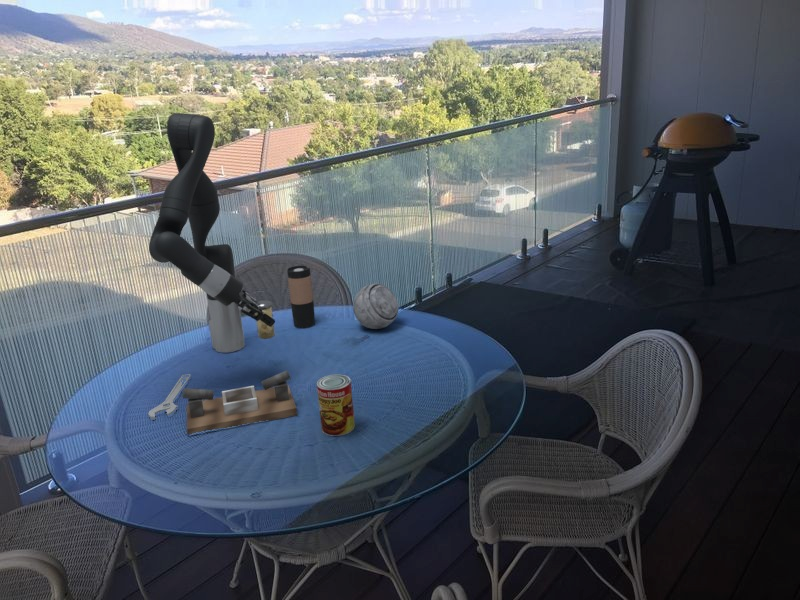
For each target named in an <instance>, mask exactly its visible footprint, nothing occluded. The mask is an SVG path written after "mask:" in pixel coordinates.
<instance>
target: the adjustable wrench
mask: <svg viewBox="0 0 800 600" xmlns="http://www.w3.org/2000/svg"><path fill="white" fill-rule="evenodd" d="M186 375H189V377H185V378H183V376H186ZM191 375H192V374H190V373H186V374H182V375H181V376H180V377H179V379H178V380H177V382H176V383H175V385H174V387H173V388H172V390H171V391H170V393H169V394H168V395H167V396H166V398H165V400H164V401H162V402H161V403H160V404H159V405H157V406H155V407H154V408H152V409H150V410H149V412H148V418H149V417H150V418H152V419H156V417H155V414H156V413H158V412H160V411H164V410H166V412H167V413H166V416H167V415H170V414H172V413H173V412H174V411H175V409H176V408H177V407H178V408H179V406H178V405H176V403H173V401H174V399H175V398H176V396H177V395H178V393H179V392H180V391H181V389H182V388H183V386H184V385H185V383H186V382H187V381H188V379H189V378H190V377H191V378H192V376H191ZM182 379H186V381H185V382H184V384H183V385H182V382H183V380H182ZM181 380H182V382H181ZM179 382H180V383H179ZM181 385H182V386H181ZM167 404H168V405H167ZM169 404H170V405H169ZM163 405H165V406H163ZM156 420H157V419H156Z"/></svg>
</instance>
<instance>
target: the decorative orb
mask: <svg viewBox="0 0 800 600" xmlns="http://www.w3.org/2000/svg"><path fill="white" fill-rule="evenodd" d="M352 308H353V309H352V311H353V314H354V316H355V319H357V321H358V323H359V324H360V325H362V326H363V327H366V328H367V329H372V330H381V329H385V328H387V327H388V326H389V325H390V324H392V323H393V322H394V321H395V319H397V317H398V314H399V304H398V300H397V297H396V296H395V293H393V290H391V289H390V288H389V287H388V286H386V285H384V284H382V283H371V284H367V285H365V286H364V287H362V288H361V289H359V290H358V292H357V293H356V295H355V296H354V299H353V304H352Z"/></svg>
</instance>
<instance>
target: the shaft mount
mask: <svg viewBox="0 0 800 600" xmlns="http://www.w3.org/2000/svg"><path fill="white" fill-rule="evenodd" d="M290 380H291V376H290V373H289V370H285V371H282V372H280V373H278V374H275V375H273V376H271V377H268V378H266V379H263V380H261V385H262V388H263V389H258V390H255V385H250V386H243V387H237V388H233V389H229V390H228V389H227V390H222V391H221V395H222V397H221V396H220V397H216V398H215V397H214V395H215V394H214V391H215V390H214V389H200V388H199V389H198V388H186V387H185V388H184V390H183V391H182V399H187V401H188V402H187V403H186V432H187V435H188V434H192V433H196V432H201V431H206V430H212V429H219V428H227V427H232V426H238V425H242V424H247V423H254V422H259V421H266V420H271V421H275V420H274V419H276V420H279V419H285V418H290V417H295V416H298V411H297V406H296V403H295V401H294V397H293V395H292V392H291V389H290V386H289V384H288V382H287V381H290ZM266 422H267V421H266Z"/></svg>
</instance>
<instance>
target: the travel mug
mask: <svg viewBox="0 0 800 600" xmlns="http://www.w3.org/2000/svg"><path fill="white" fill-rule="evenodd" d="M286 270H287V271H286V273H287V280H288V281H287V282H288V290H289V298H290V307H291V315H292V321H293V326H294V327H295V328H296V329H308V328H311V327H314V326H315V324H316V317H315V305H314V304H315V303H314V294H313V286H312V285H313V284H312V275H311V268H310V267H307V266H306V265H294V266H291V267H288V268H287V269H286Z"/></svg>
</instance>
